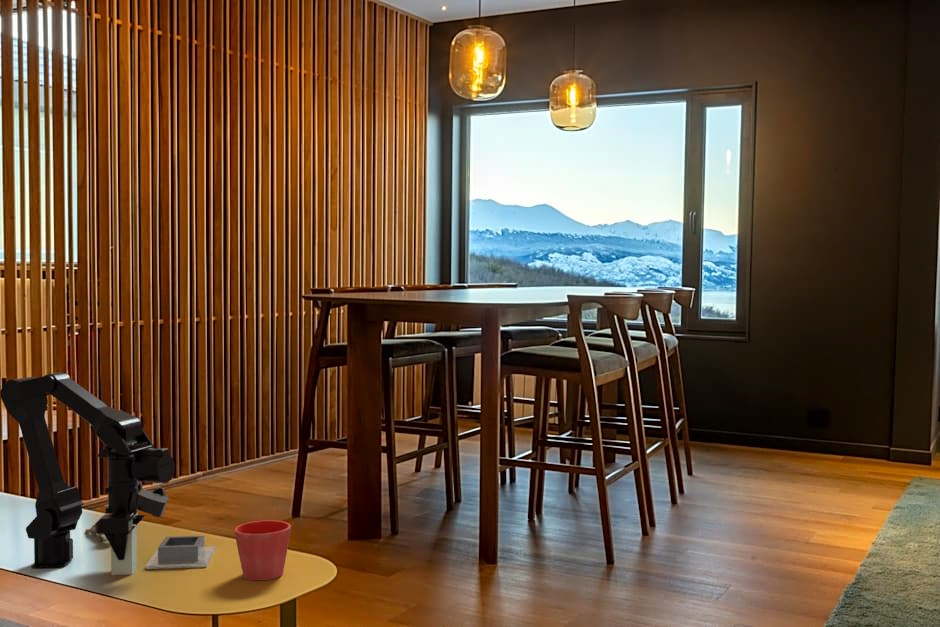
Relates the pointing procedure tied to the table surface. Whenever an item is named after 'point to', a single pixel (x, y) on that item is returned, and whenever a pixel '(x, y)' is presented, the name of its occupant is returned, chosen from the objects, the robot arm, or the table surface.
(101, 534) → the figurine
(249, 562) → the flower pot
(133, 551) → the rail post
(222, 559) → the table surface
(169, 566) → the bracket
